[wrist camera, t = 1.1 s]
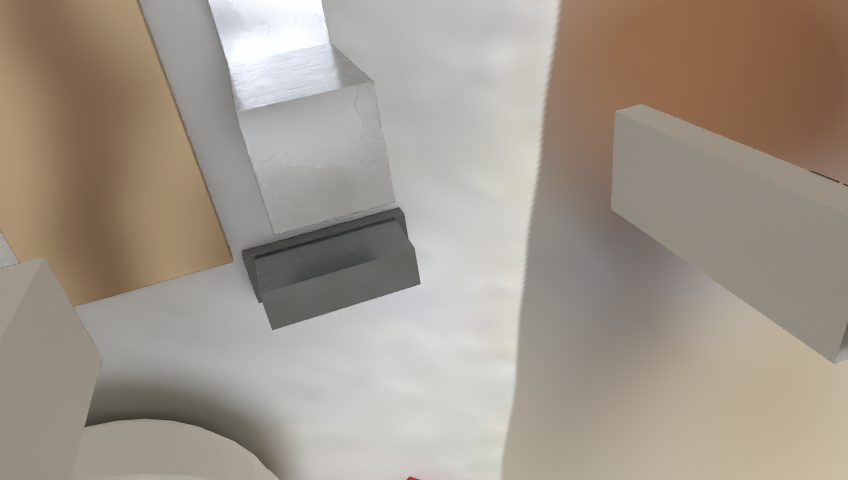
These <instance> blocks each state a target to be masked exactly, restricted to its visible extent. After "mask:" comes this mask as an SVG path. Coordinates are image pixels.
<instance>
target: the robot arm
mask: <svg viewBox="0 0 848 480" xmlns="http://www.w3.org/2000/svg"><path fill="white" fill-rule="evenodd" d="M613 152H614V153H613V176H612V202H611V209H612V210H614V211H615V212H617V213H618V214H620V215H621V216H622V217H624V218H625V219H627V220H628V221H630V222H631V223H633V224H634V225H636V226H637V227H638V228H640V229H641V230H643V231H644V232H646V233H647V234H648V235H650V236H651V237H653V238H654V239H655V240H657V241H658V242H660V243H661V244H663V245H664V246H666V247H667V248H669V249H670V250H671V251H673V252H674V253H676V254H677V255H678V256H680V257H681V258H683V259H684V260H686V261H687V262H688V263H690V264H691V265H693V266H694V267H696V268H697V269H699V270H700V271H701V272H703V273H704V274H706V275H707V276H709V277H710V278H711V279H713V280H714V281H716V282H717V283H719V284H720V285H721V286H723V287H724V288H726V289H727V290H729V291H730V292H732V293H733V294H734V295H736V296H737V297H739V298H740V299H742V300H743V301H744V302H746V303H747V304H749V305H750V306H752V307H753V308H754V309H756V310H757V311H759V312H760V313H762V314H763V315H765V316H766V317H767V318H769V319H770V320H772V321H773V322H775V323H776V324H777V325H779V326H780V327H782V328H783V329H785V330H786V331H787V332H789V333H790V334H792V335H793V336H795V337H796V338H798V339H799V340H800V341H802V342H803V343H805V344H806V345H808V346H809V347H810V348H812V349H814V350H815V351H816V352H818V353H819V354H821V355H822V356H823V357H825V358H826V359H828V360H829V361H831V362H832V363H833V364H835V363H838V362H841V361H843V360H846V359H848V185H846V184H840V183H839V181H836V180H834V179H831V178H829V177H826V176H823V175H821V174H818V173H816V172H813V171H808V170H805V169H802V168H800V167H797V166H795V165H793V164H790V163H787V162H785V161H782V160H780V159H777V158H775V157H773V156H770V155H768V154H765V153H762V152H760V151H757V150H755V149H753V148H750V147H748V146H745V145H742V144H740V143H738V142H735V141H733V140H730V139H728V138H725V137H723V136H720V135H718V134H715V133H713V132H710V131H708V130H705V129H703V128H700V127H698V126H695V125H692V124H690V123H688V122H685V121H683V120H680V119H678V118H675V117H673V116H670V115H668V114H665V113H663V112H660V111H658V110H655V109H653V108H650V107H648V106H645V105H643V104H640V105H637V106H633V107H629V108H625V109H621V110H617V111H615V127H614V151H613ZM102 359H103V358H102V357H101V355H100V353H99V351H98V350H97V348H96V346H95V345H94V343H93V341H92V339H91V338H90V336H89V334H88V332H87V331H86V329H85V327H84V325H83V324H82V322H81V320H80V318H79V317H78V315H77V313H76V311H75V310H74V308H73V306H72V304H71V303H70V301H69V299H68V297H67V296H66V294H65V292H64V290H63V289H62V287H61V285H60V284H59V282H58V280H57V278H56V277H55V275H54V273H53V271H52V270H51V268H50V266H49V264H48V263H47V261H46V259H45V257H42V258H38V259H35V260H31V261H27V262H23V263H19V264H15V265H11V266H7V267H3V268H2V270H1V271H0V480H70V479H71V475H72V471H73V468H74V464H75V460H76V456H77V453H78V449H79V445H80V442H81V438H82V434H83V430H84V427H85V423H86V419H87V415H88V412H89V408H90V404H91V400H92V397H93V393H94V389H95V385H96V382H97V378H98V374H99V371H100V367H101V363H102Z"/></svg>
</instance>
